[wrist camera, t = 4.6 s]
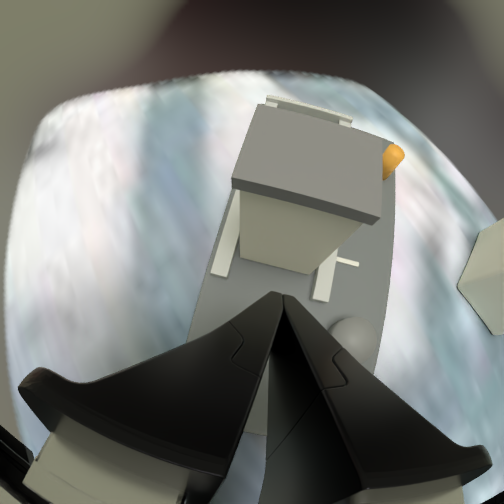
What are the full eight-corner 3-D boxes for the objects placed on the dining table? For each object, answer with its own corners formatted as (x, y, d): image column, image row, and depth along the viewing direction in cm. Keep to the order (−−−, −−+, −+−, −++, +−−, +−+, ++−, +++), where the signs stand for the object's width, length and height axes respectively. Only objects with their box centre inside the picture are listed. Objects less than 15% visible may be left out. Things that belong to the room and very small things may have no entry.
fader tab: (311, 278, 17) (380, 217, 8) (235, 259, 17) (231, 177, 8) (320, 229, 18) (382, 139, 9) (249, 210, 18) (257, 103, 9)
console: (348, 441, 15) (370, 460, 11) (172, 407, 16) (155, 424, 12) (390, 147, 22) (408, 121, 18) (261, 110, 22) (264, 77, 19)
